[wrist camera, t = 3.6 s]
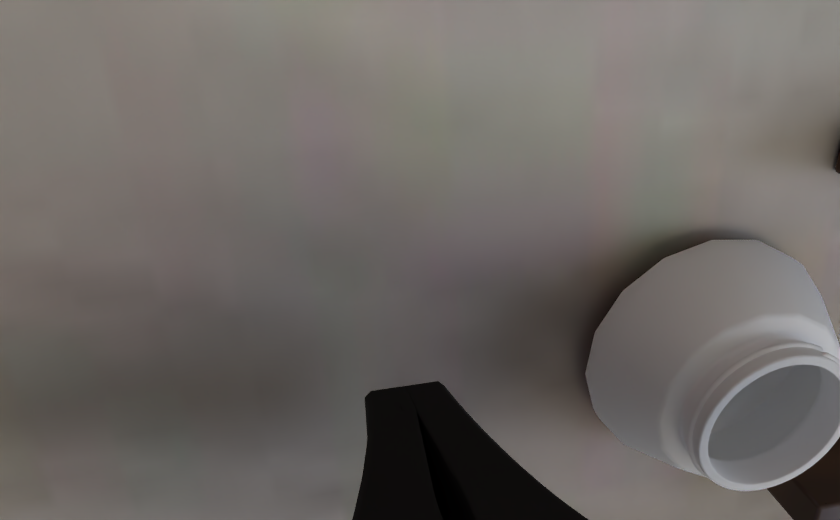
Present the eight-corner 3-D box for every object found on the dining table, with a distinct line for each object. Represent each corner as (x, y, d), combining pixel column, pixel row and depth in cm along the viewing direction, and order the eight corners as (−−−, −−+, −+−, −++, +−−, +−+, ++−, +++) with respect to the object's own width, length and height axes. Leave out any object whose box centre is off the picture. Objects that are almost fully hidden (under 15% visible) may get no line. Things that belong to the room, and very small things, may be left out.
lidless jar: (706, 453, 17) (841, 280, 16) (785, 552, 15) (956, 356, 13) (535, 397, 16) (670, 193, 14) (593, 499, 13) (766, 263, 11)
